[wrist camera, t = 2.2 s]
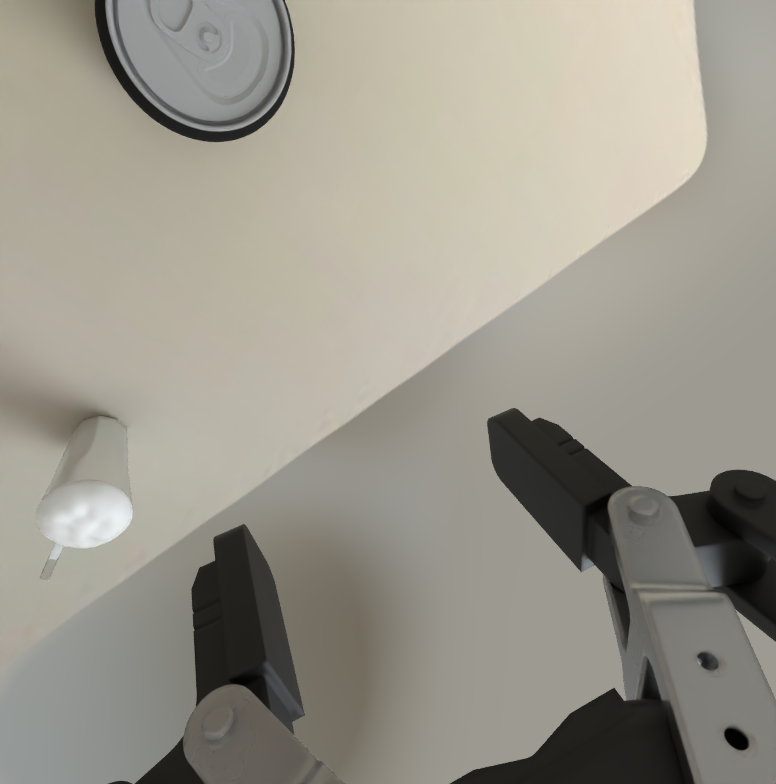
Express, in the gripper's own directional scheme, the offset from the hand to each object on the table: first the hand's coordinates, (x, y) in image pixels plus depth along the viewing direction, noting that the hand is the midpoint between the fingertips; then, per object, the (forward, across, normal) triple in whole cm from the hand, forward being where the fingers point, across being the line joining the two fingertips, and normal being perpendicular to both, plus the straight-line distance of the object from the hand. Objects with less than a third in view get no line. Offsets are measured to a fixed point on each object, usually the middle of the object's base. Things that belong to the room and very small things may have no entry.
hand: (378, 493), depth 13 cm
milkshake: (+24, +14, +8) cm, 29 cm away
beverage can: (+24, -1, -11) cm, 26 cm away
